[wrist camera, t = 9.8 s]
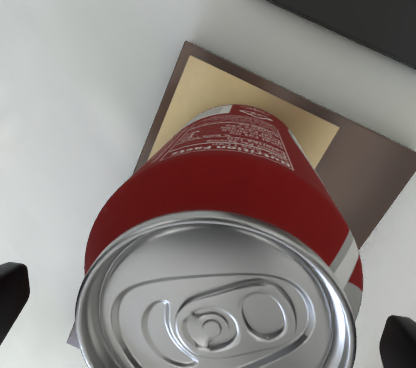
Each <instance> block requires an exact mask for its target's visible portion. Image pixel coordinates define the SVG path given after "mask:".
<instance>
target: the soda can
mask: <svg viewBox="0 0 416 368" xmlns="http://www.w3.org/2000/svg"><path fill="white" fill-rule="evenodd" d="M84 269H85V278H84V280H83V282H82V285H81V287H80V290H79V293H78V297H77V302H76V308H75V327H76V334H77V339H78V343H79V347H80V350H81V353H82V355H83V357H84V360H85V362H86V364H87V365H88V367H89V368H353V364H354V360H355V354H356V328H355V321H356V318H357V315H358V312H359V308H360V304H361V299H362V291H363V273H362V264H361V259H360V255H359V251H358V248H357V245H356V242H355V240H354V237H353V235H352V233H351V231H350V229H349V227H348V225H347V223H346V221H345V220H344V218H343V216H342V215H341V213H340V211H339V210H338V208H337V206H336V205H335V203H334V201H333V200H332V198H331V196H330V195H329V193H328V191H327V190H326V188H325V186H324V185H323V183H322V181H321V180H320V178H319V176H318V175H317V173H316V171H315V170H314V168H313V166H312V165H311V163H310V161H309V160H308V158H307V156H306V155H305V153H304V151H303V150H302V148H301V146H300V145H299V143H298V141H297V140H296V138H295V136H294V135H293V133H292V132H291V131H290V129H289V128H288V127H287V126H286V125H285V124H284V123H283V122H282V121H281V120H279V119H278V118H277V117H275V116H274V115H272V114H271V113H269V112H267V111H265V110H263V109H260V108H257V107H254V106H249V105H243V104H228V105H221V106H217V107H214V108H211V109H208V110H206V111H204V112H202V113H200V114H199V115H197V116H196V117H194V118H193V119H192V120H190V121H189V122H188V123H187V124H186V125H185V126H184V127H183V128H182V129H181V130H180V131H179V132H178V133H177V134H175V135H174V136H173V137H172V138H171V139H170V140H169V141H168V142H167V143H166V144H165V145H164V146H163V147H162V148H161V149H160V150H159V151H158V152H157V153H155V154H154V155H153V156H152V157H151V158H150V159H149V160H148V161H147V162H146V163H145V164H144V165H143V166H142V167H141V168H140V169H139V170H138V171H137V172H136V173H134V174H133V175H132V176H131V177H130V178H129V179H128V180H127V181H126V182H125V183H124V184H123V185H122V186H121V187H120V188H119V189H118V190H117V191H116V192H115V193H114V194H113V195H112V196H111V197H110V199H109V200H108V201H107V202H106V204H105V205H104V207H103V208H102V209H101V211H100V213H99V215H98V216H97V218H96V220H95V222H94V225H93V227H92V229H91V232H90V235H89V239H88V242H87V247H86V253H85V266H84Z"/></svg>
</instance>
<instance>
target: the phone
mask: <svg viewBox="0 0 416 368" xmlns="http://www.w3.org/2000/svg"><path fill="white" fill-rule="evenodd" d="M267 1H269V2H271V3H273V4H275V5H277V6H279V7H282V8H284V9H286V10H288V11H290V12H292V13H295V14H297V15H299V16H301V17H303V18H305V19H308V20H310V21H312V22H314V23H316V24H319V25H321V26H323V27H325V28H327V29H329V30H332V31H334V32H336V33H338V34H340V35H342V36H345V37H347V38H349V39H351V40H353V41H355V42H358V43H360V44H362V45H364V46H366V47H369V48H371V49H373V50H375V51H377V52H379V53H382V54H384V55H386V56H388V57H390V58H392V59H395V60H397V61H399V62H401V63H403V64H405V65H408V66H410V67H412V68H414V69H415V70H416V0H267Z"/></svg>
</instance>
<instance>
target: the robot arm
mask: <svg viewBox="0 0 416 368" xmlns="http://www.w3.org/2000/svg"><path fill="white" fill-rule="evenodd" d="M29 295H30V287H29V278H28V270H27V267H26V265H24V264H21V263H14V262H8V263H5V264H2V265H0V345H1V344H2V342H3V340H4V339H5V337H6V335H7V334H8V332H9V330H10V329H11V327H12V325H13V324H14V322H15V320H16V319H17V317H18V315H19V314H20V312H21V311H22V309H23V307H24V306H25V304H26V302H27V300H28V298H29ZM380 355H381V359H382V363H383V367H384V368H416V322H414V321H413V320H411V319H410V318H408V317H402V316H395V315H391V316H389V317H388V319H387V321H386V324H385V328H384V331H383V334H382V337H381V340H380Z"/></svg>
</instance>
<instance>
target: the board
mask: <svg viewBox="0 0 416 368" xmlns="http://www.w3.org/2000/svg"><path fill="white" fill-rule="evenodd" d="M228 104H243V105H249V106H254V107H257V108H260V109H263V110H265V111H267V112H269V113H271V114H272V115H274V116H275V117H277V118H278V119H279V120H281V121H282V122H283V123H284V124H285V125H286V126H287V127H288V128H289V129H290V131H291V132H292V133H293V135H294V136H295V138H296V140H297V141H298V143H299V145H300V146H301V148H302V150H303V151H304V153H305V155H306V156H307V158H308V160H309V161H310V163H311V165H312V166H313V168H314V170H315V171H316V173H317V175H318V176H319V178H320V180H321V181H322V183H323V185H324V186H325V188H326V190H327V191H328V193H329V195H330V196H331V198H332V200H333V201H334V203H335V205H336V206H337V208H338V210H339V211H340V213H341V215H342V216H343V218H344V220H345V221H346V223H347V225H348V227H349V229H350V231H351V233H352V235H353V237H354V240H355V242H356V245H357V248H358V250H359V249H360V248H361V246H362V245H363V243H364V242H365V241H366V239H367V238H368V237H369V235H370V234H371V232H372V231H373V230H374V228H375V227H376V225H377V224H378V223H379V221H380V220H381V219H382V217H383V216H384V214H385V213H386V212H387V210H388V209H389V207H390V206H391V205H392V203H393V202H394V200H395V199H396V198H397V196H398V195H399V194H400V192H401V191H402V189H403V188H404V187H405V185H406V184H407V182H408V181H409V180H410V178H411V177H412V176H413V174H414V173H415V171H416V152H415V151H414V150H412V149H410V148H408V147H405V146H403V145H401V144H399V143H397V142H395V141H393V140H391V139H389V138H387V137H385V136H383V135H381V134H379V133H377V132H375V131H373V130H370V129H368V128H366V127H364V126H362V125H360V124H358V123H356V122H354V121H352V120H350V119H348V118H346V117H344V116H342V115H340V114H338V113H335V112H333V111H331V110H329V109H327V108H325V107H323V106H321V105H319V104H317V103H315V102H313V101H311V100H309V99H307V98H305V97H303V96H300V95H298V94H296V93H294V92H292V91H290V90H288V89H286V88H284V87H282V86H280V85H278V84H276V83H274V82H272V81H270V80H267V79H265V78H263V77H261V76H259V75H257V74H255V73H253V72H251V71H249V70H247V69H245V68H243V67H241V66H239V65H237V64H235V63H232V62H230V61H228V60H226V59H224V58H222V57H220V56H218V55H216V54H214V53H212V52H210V51H208V50H206V49H204V48H202V47H200V46H197V45H195V44H193V43H191V42H188V41H185V43H184V45H183V48H182V50H181V53H180V55H179V58H178V60H177V63H176V66H175V68H174V71H173V73H172V76H171V78H170V81H169V83H168V86H167V88H166V91H165V94H164V96H163V99H162V101H161V104H160V106H159V109H158V111H157V114H156V116H155V119H154V122H153V124H152V127H151V129H150V132H149V134H148V137H147V139H146V142H145V144H144V147H143V150H142V152H141V155H140V157H139V160H138V162H137V165H136V167H135V170H134V172H133V174H134V173H136V172H137V171H138V170H139V169H140V168H141V167H142V166H143V165H144V164H145V163H146V162H147V161H148V160H149V159H150V158H151V157H152V156H153V155H154V154H155V153H157V152H158V151H159V150H160V149H161V148H162V147H163V146H164V145H165V144H166V143H167V142H168V141H169V140H170V139H171V138H172V137H173V136H174V135H175V134H177V133H178V132H179V131H180V130H181V129H182V128H183V127H184V126H185V125H186V124H187V123H188V122H189V121H190V120H192V119H193V118H194V117H196V116H197V115H199V114H200V113H202V112H204V111H206V110H208V109H211V108H214V107H217V106H221V105H228ZM67 343H68V344H70V345H72V346H75V347H77V348H79V349H80V347H79V343H78V339H77V334H76V327H75V323H74V325H73V328H72V330H71V333H70V335H69V338H68V340H67Z"/></svg>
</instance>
